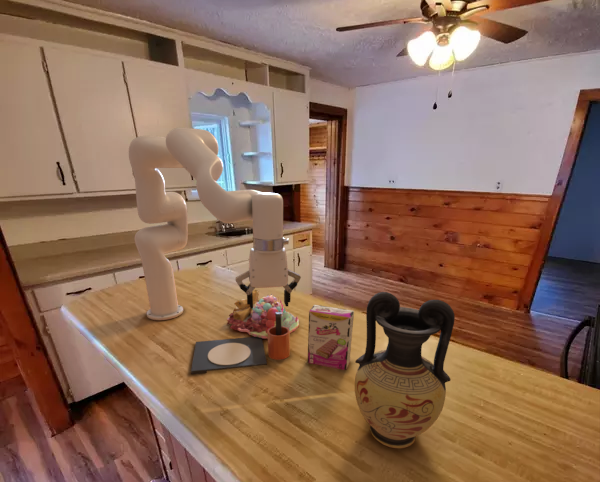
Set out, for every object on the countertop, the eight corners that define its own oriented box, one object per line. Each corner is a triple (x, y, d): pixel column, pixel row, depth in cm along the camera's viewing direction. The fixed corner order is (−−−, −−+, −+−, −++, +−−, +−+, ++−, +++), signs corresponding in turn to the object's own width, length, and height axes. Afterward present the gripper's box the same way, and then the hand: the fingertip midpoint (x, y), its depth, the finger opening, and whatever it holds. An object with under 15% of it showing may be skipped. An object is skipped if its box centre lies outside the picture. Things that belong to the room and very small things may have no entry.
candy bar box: (306, 364, 93) (307, 310, 86) (312, 355, 97) (313, 303, 91) (346, 372, 90) (350, 317, 83) (350, 363, 94) (354, 309, 88)
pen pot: (267, 351, 100) (266, 327, 96) (287, 349, 101) (287, 325, 98) (269, 362, 94) (268, 337, 91) (291, 360, 95) (291, 335, 92)
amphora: (431, 411, 76) (456, 286, 64) (443, 472, 61) (478, 323, 49) (353, 399, 79) (363, 278, 68) (345, 454, 64) (357, 311, 53)
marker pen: (275, 352, 98) (274, 311, 93) (281, 351, 98) (281, 311, 93) (276, 355, 96) (275, 314, 91) (282, 355, 96) (281, 313, 91)
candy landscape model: (213, 327, 111) (211, 301, 108) (252, 305, 131) (252, 283, 128) (279, 343, 101) (279, 315, 98) (311, 317, 121) (311, 292, 118)
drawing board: (196, 344, 103) (195, 341, 102) (261, 338, 106) (261, 335, 106) (191, 374, 88) (190, 370, 88) (267, 366, 92) (266, 362, 92)
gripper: (298, 240, 91) (297, 298, 97) (233, 241, 87) (236, 302, 94) (304, 246, 84) (302, 309, 91) (233, 248, 80) (237, 313, 87)
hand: (268, 305), depth 92 cm, fingers open, 9 cm apart
